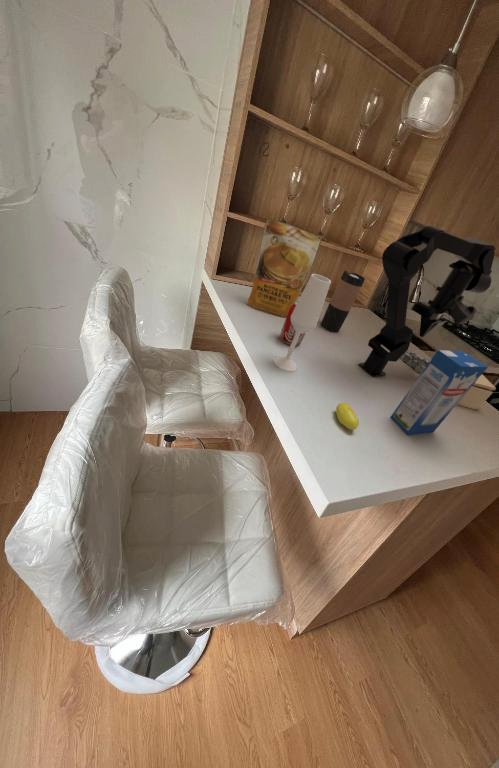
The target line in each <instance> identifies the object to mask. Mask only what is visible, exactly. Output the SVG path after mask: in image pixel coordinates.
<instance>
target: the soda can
mask: <svg viewBox="0 0 499 768" xmlns="http://www.w3.org/2000/svg"><path fill="white" fill-rule="evenodd" d="M298 301H299V300H297V301H295V302H294V304H293V305H292V306H291V307H290V310H289V312H288V314H287V317H285V320H284V322H283V325H282V328H281V331H280V335H279V338H280V339H281V341H282V342H283V343H285V344H286V345H289V346H291V344H292V341H293V339H294V336H295V334H296V331H295V330H294V328H293V326H292V323H291V315H292V313H293V311H294V309H295V307H296V305H297V303H298ZM305 335H306V333H302V334H300V336H299V339H298V341H297V343H296V346H298V345H300V344H301V343H302V342H303V340H304V337H305Z"/></svg>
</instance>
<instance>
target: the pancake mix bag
mask: <svg viewBox="0 0 499 768" xmlns="http://www.w3.org/2000/svg"><path fill="white" fill-rule="evenodd" d="M265 221H266V222H265V225H264V229H263V233H262V236H261V237H262V238H261V239H262V240H261V245H260V248H259V253H258V259H257V263H256V264H257V265H256V270H255V275H254V277H253V280H252V281H253V282H252V288H251V292H250V294H249V297H248V298H247V301H246V302H245V304H246V305H248V306H250V307H251V308H252V309H256V310H258V311H261V312H264V313H268V314H271V315H274V316H277V317H281V318H286V317H287V314H288V312H289V310H290V307H291V306H292V305H293V304H294V302H295V301H298V300H299V299H298V298H299V297H300V294H301V293H302V289H304V286H305V283H306V282H307V280H308V277H309V275H310V273H311V272H312V269H313V265H314V263H315V260H316V256H317V254H318V252H319V250H320V247H321V243H322V239H320V238H319V237H320V235H319V234H316V233H313V232H310V231H307V230H303V229H301V228H299V227H296V226H294V225H291V224H288V223H285V222H284V221H283V222H282V221H278V220H275V219H267V220H265Z"/></svg>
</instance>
